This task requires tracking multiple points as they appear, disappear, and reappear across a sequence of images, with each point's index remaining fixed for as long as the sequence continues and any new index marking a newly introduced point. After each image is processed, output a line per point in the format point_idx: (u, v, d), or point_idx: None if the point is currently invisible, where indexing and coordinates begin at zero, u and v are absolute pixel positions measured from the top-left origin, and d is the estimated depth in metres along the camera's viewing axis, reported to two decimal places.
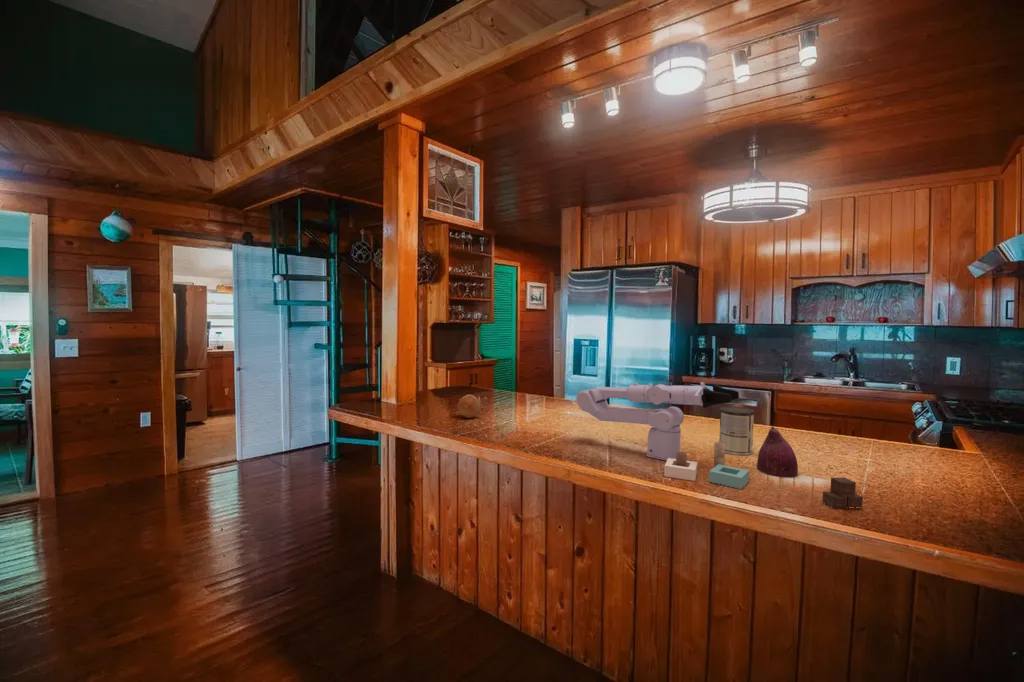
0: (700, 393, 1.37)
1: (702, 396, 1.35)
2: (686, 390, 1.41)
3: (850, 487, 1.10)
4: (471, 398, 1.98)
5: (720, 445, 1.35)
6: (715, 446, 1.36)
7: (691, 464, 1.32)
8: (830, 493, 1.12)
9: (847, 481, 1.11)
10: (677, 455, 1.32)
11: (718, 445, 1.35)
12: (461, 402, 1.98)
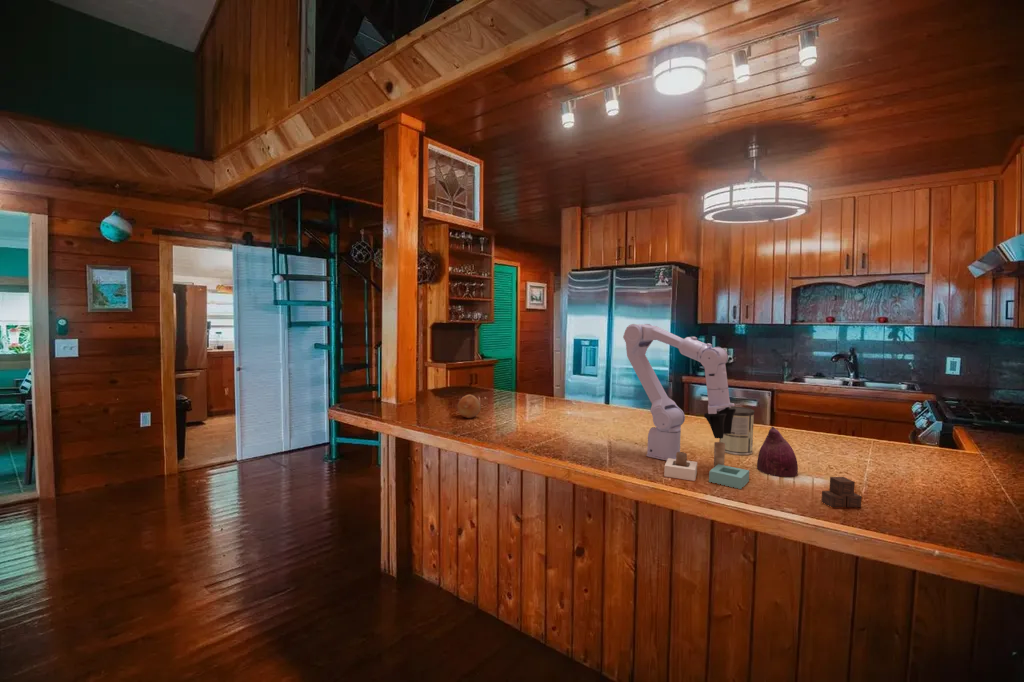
0: None
1: (715, 414, 1.31)
2: (721, 391, 1.33)
3: (849, 487, 1.10)
4: (471, 398, 1.98)
5: (720, 445, 1.35)
6: (715, 446, 1.36)
7: (691, 464, 1.32)
8: (829, 492, 1.12)
9: (846, 480, 1.11)
10: (677, 455, 1.32)
11: (718, 445, 1.35)
12: (461, 402, 1.98)
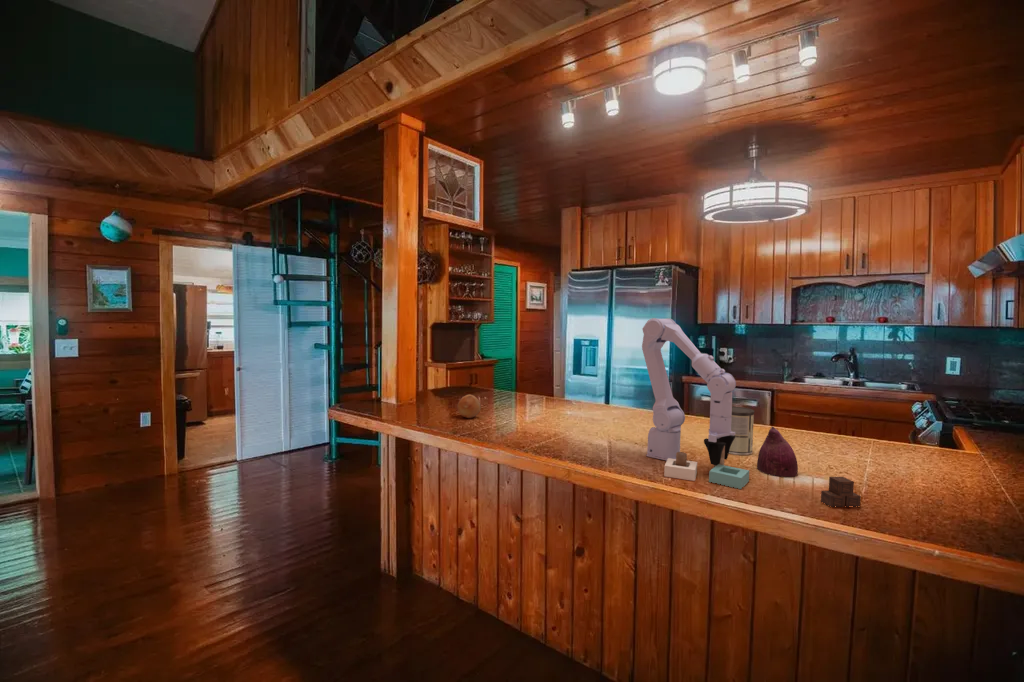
0: None
1: (715, 442, 1.31)
2: (724, 419, 1.33)
3: (848, 487, 1.11)
4: (471, 398, 1.98)
5: None
6: None
7: (691, 464, 1.32)
8: (828, 492, 1.13)
9: (846, 480, 1.11)
10: (677, 455, 1.32)
11: None
12: (461, 402, 1.98)
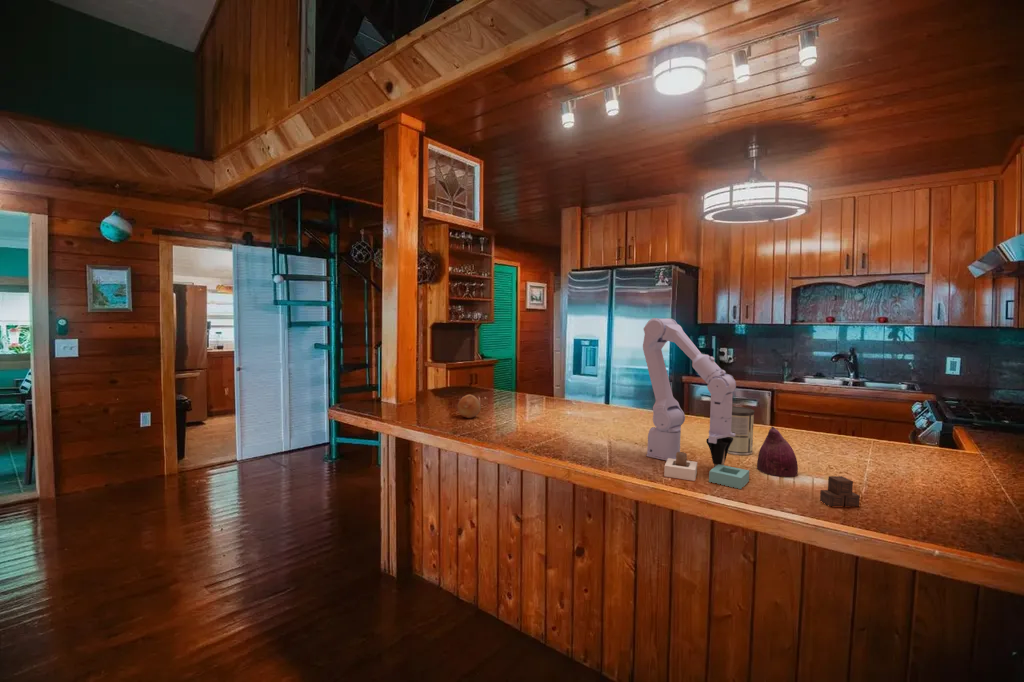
0: None
1: (717, 442, 1.32)
2: (724, 420, 1.33)
3: (847, 486, 1.11)
4: (471, 398, 1.98)
5: None
6: None
7: (691, 464, 1.32)
8: (827, 492, 1.13)
9: (845, 479, 1.12)
10: (677, 455, 1.32)
11: None
12: (461, 402, 1.98)
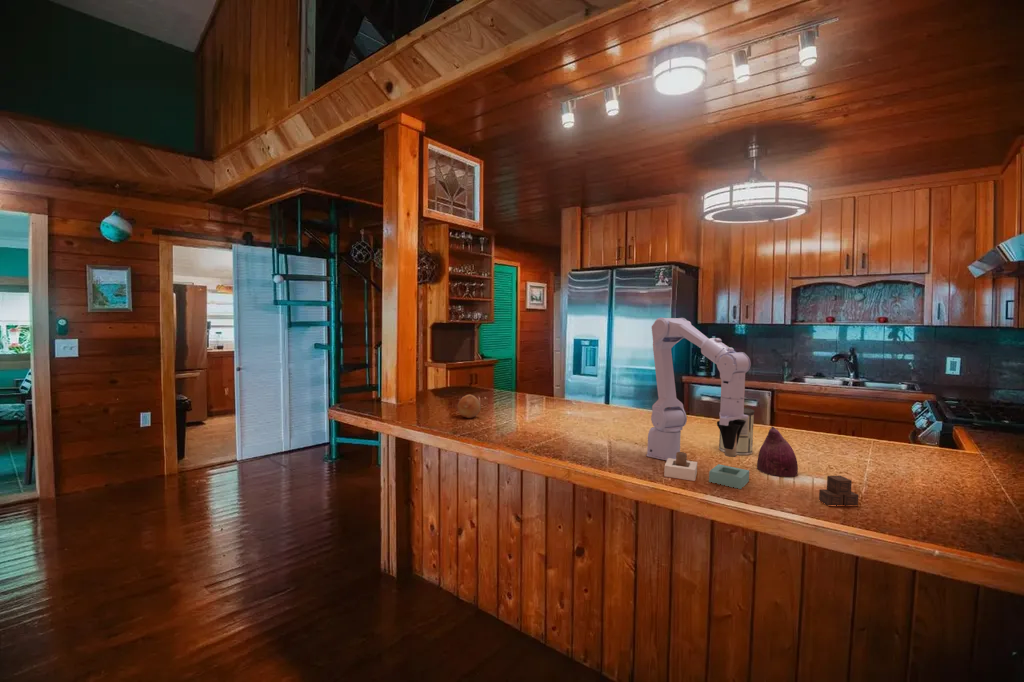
0: (732, 419, 1.23)
1: (729, 424, 1.23)
2: (736, 401, 1.23)
3: (846, 485, 1.11)
4: (471, 398, 1.98)
5: None
6: None
7: (691, 464, 1.32)
8: (826, 491, 1.13)
9: (843, 479, 1.12)
10: (677, 455, 1.32)
11: None
12: (461, 402, 1.98)
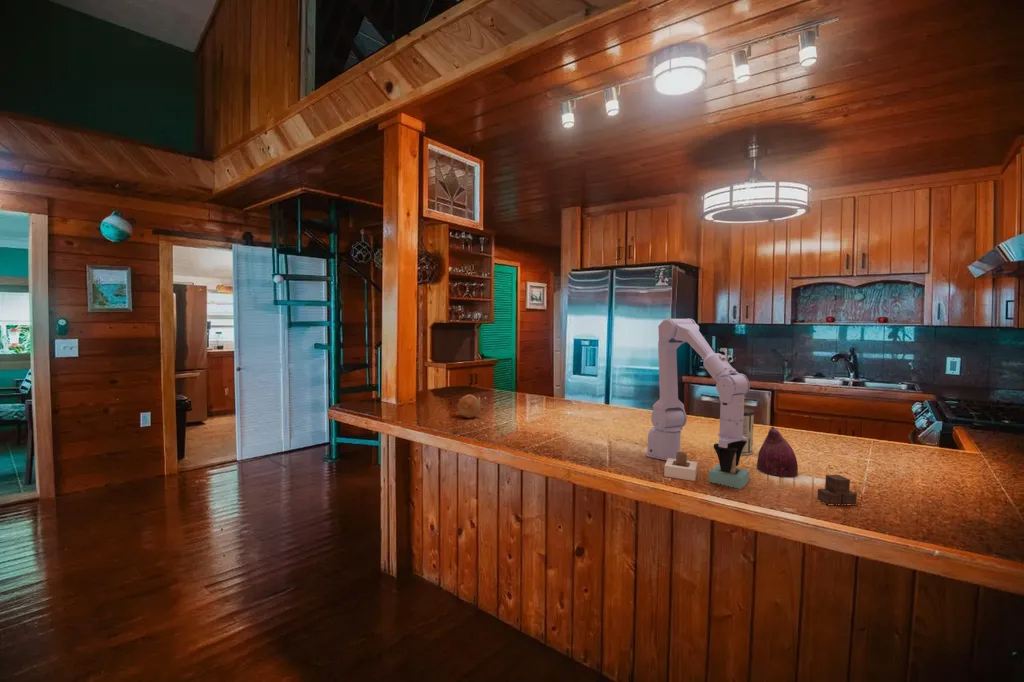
0: None
1: (726, 447, 1.22)
2: (735, 423, 1.23)
3: (844, 485, 1.12)
4: (471, 398, 1.98)
5: None
6: None
7: (691, 464, 1.32)
8: (825, 490, 1.14)
9: (842, 478, 1.13)
10: (677, 455, 1.32)
11: None
12: (461, 402, 1.98)
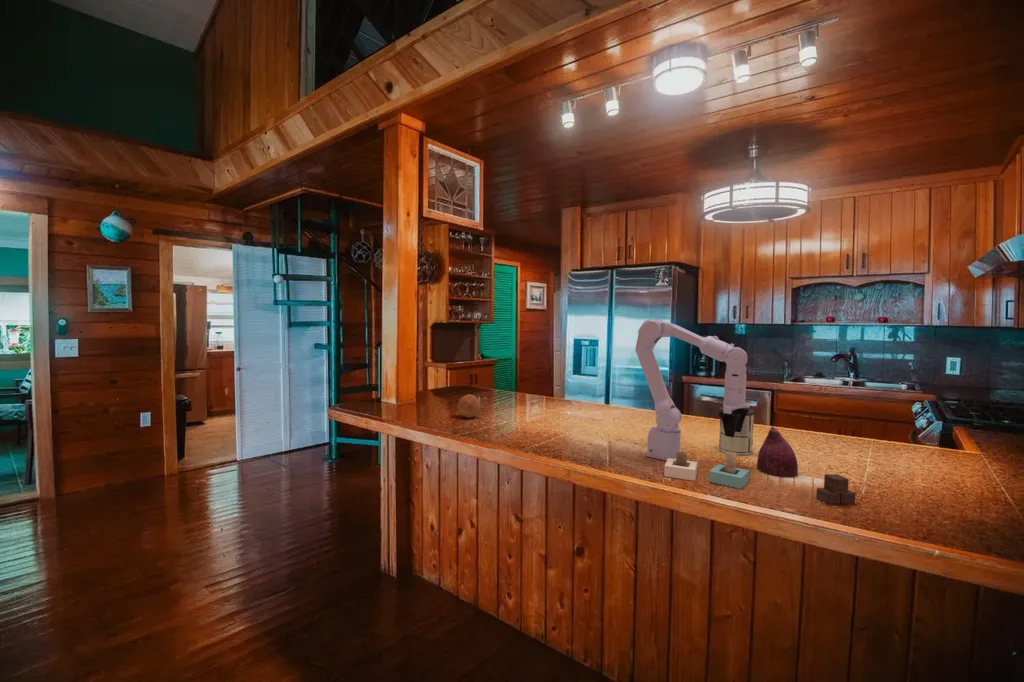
0: None
1: (730, 414, 1.34)
2: (739, 392, 1.36)
3: (843, 484, 1.12)
4: (471, 398, 1.98)
5: (731, 455, 1.25)
6: (725, 456, 1.26)
7: (691, 464, 1.32)
8: (824, 489, 1.14)
9: (840, 477, 1.13)
10: (677, 455, 1.32)
11: (729, 455, 1.25)
12: (461, 402, 1.98)
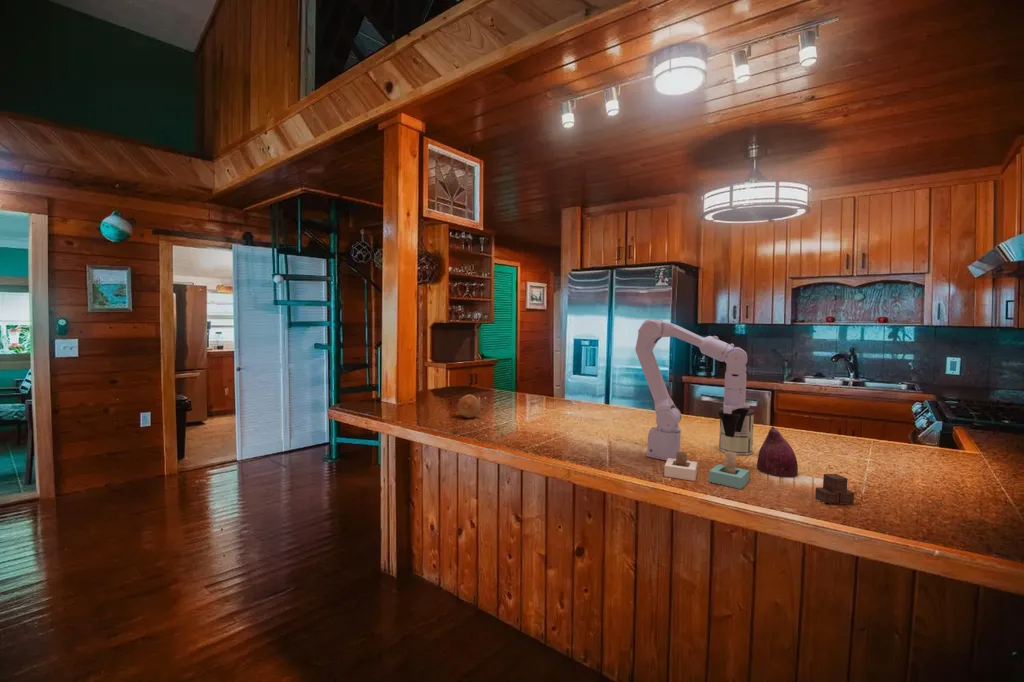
0: None
1: (730, 414, 1.34)
2: (739, 392, 1.36)
3: (842, 483, 1.13)
4: (471, 398, 1.98)
5: (731, 455, 1.25)
6: (725, 456, 1.26)
7: (691, 464, 1.32)
8: (823, 489, 1.15)
9: (839, 477, 1.13)
10: (677, 455, 1.32)
11: (729, 455, 1.25)
12: (461, 402, 1.98)
